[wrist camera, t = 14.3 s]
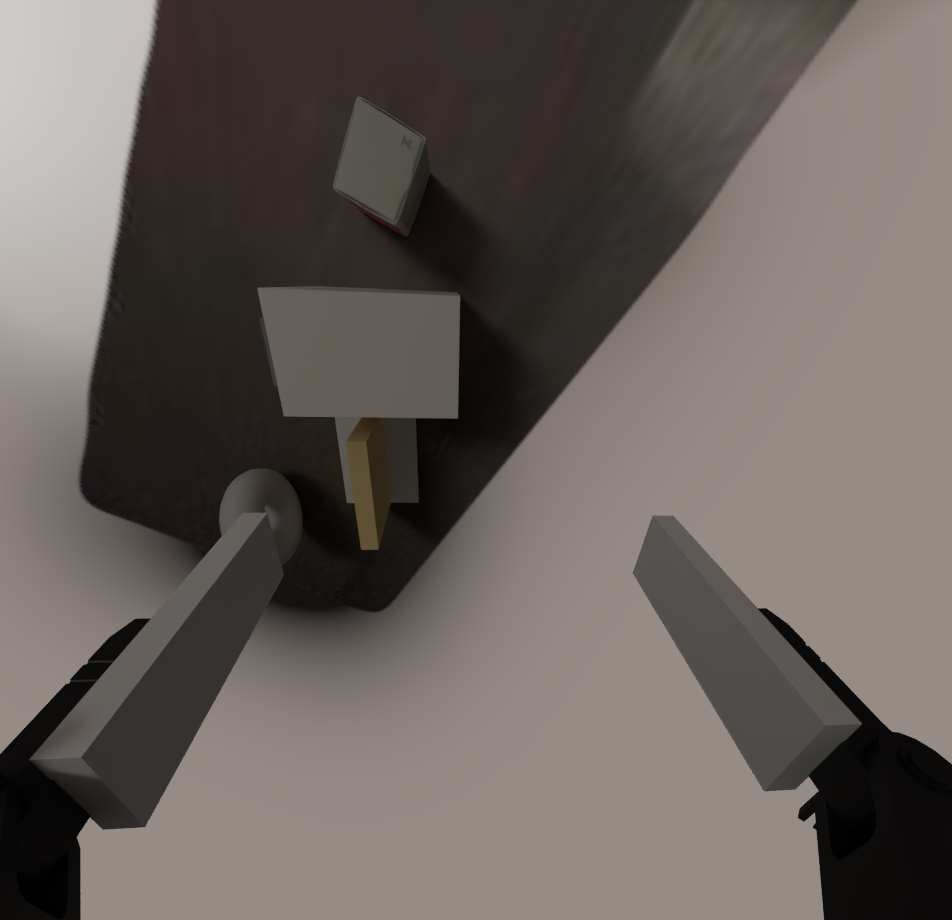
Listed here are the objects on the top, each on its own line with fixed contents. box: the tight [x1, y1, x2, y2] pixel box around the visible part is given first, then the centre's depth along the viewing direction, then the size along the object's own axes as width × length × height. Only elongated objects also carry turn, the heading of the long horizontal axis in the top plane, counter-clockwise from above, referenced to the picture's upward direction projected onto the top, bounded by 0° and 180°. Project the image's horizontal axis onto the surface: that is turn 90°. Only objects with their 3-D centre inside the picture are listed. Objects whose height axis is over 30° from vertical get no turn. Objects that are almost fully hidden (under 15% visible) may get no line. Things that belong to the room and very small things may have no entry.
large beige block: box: [257, 286, 460, 419], centre depth 28 cm, size 8×13×11 cm, turn 88°
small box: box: [333, 97, 430, 237], centre depth 25 cm, size 5×4×8 cm
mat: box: [335, 417, 419, 503], centre depth 38 cm, size 12×8×1 cm, turn 178°
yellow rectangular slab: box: [346, 417, 391, 550], centre depth 35 cm, size 2×11×8 cm, turn 178°
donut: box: [219, 469, 303, 565], centre depth 35 cm, size 10×4×10 cm, turn 9°
